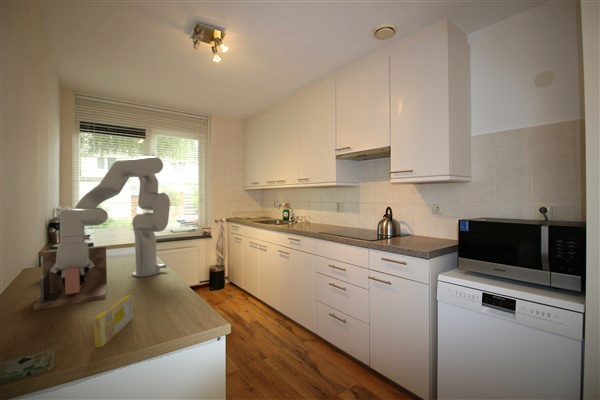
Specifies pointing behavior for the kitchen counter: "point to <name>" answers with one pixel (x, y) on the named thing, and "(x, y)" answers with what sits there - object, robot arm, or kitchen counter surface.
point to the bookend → (47, 290)
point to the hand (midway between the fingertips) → (73, 284)
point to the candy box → (112, 320)
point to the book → (72, 280)
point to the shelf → (90, 288)
